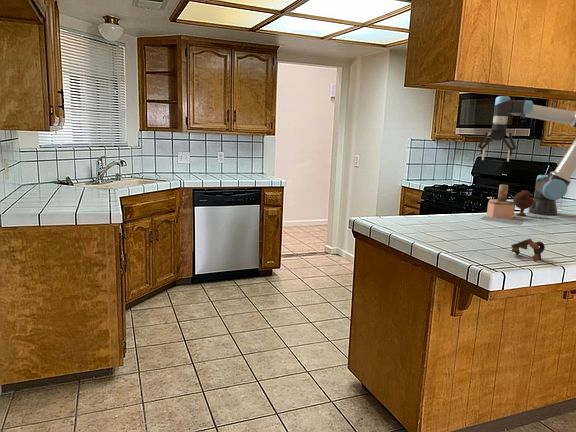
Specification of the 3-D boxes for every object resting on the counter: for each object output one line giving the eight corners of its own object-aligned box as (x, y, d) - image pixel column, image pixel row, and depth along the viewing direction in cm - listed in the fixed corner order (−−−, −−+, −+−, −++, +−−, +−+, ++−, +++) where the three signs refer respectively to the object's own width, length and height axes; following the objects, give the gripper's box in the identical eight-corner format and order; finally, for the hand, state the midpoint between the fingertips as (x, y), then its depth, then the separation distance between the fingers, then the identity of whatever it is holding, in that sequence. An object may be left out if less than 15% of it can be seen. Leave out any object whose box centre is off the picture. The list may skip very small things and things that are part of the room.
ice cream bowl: (536, 217, 256) (540, 191, 253) (522, 217, 252) (525, 191, 249) (520, 213, 266) (524, 188, 263) (506, 214, 261) (510, 188, 259)
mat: (524, 222, 238) (524, 221, 238) (520, 225, 227) (521, 224, 227) (484, 216, 249) (484, 215, 249) (479, 220, 238) (479, 219, 238)
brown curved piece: (530, 264, 158) (520, 242, 159) (512, 268, 167) (503, 247, 168) (556, 254, 161) (546, 233, 163) (536, 258, 170) (527, 238, 172)
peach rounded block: (516, 203, 250) (518, 185, 249) (512, 206, 240) (515, 187, 238) (491, 200, 257) (493, 183, 256) (486, 203, 247) (489, 184, 245)
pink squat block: (514, 217, 252) (516, 203, 251) (510, 220, 242) (512, 205, 240) (489, 214, 259) (491, 200, 258) (485, 217, 249) (486, 202, 247)
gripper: (475, 123, 262) (471, 159, 266) (523, 124, 249) (518, 162, 253) (477, 123, 268) (473, 159, 272) (524, 124, 256) (519, 161, 259)
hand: (495, 160), depth 263 cm, fingers open, 13 cm apart
